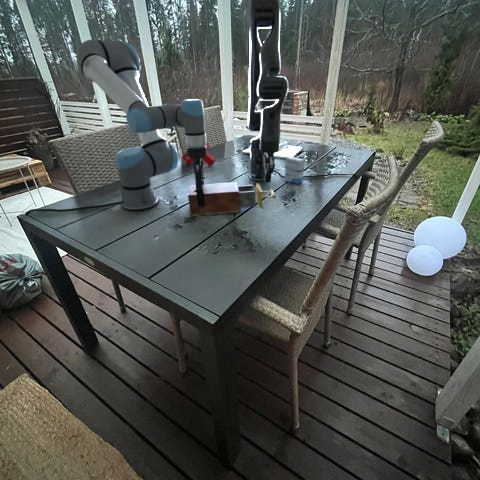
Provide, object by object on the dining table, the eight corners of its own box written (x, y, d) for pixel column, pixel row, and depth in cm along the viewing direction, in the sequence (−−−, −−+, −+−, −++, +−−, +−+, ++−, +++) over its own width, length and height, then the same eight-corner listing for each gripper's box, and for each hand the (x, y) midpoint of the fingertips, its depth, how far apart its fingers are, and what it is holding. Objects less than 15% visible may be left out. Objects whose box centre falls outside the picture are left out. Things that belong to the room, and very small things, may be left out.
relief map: (291, 159, 177) (291, 151, 174) (243, 153, 190) (243, 145, 187) (302, 149, 197) (303, 142, 194) (258, 144, 211) (258, 137, 208)
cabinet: (237, 201, 121) (236, 181, 116) (239, 212, 112) (239, 191, 107) (192, 205, 120) (189, 185, 115) (191, 216, 111) (187, 195, 106)
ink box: (302, 181, 142) (305, 159, 136) (297, 184, 139) (300, 161, 133) (289, 177, 147) (291, 156, 141) (284, 180, 144) (285, 158, 138)
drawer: (271, 197, 121) (272, 181, 117) (276, 206, 113) (276, 190, 109) (216, 201, 119) (214, 186, 115) (217, 211, 112) (215, 194, 108)
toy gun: (219, 159, 165) (203, 138, 161) (216, 161, 162) (200, 139, 158) (199, 174, 175) (184, 155, 171) (196, 176, 172) (181, 156, 168)
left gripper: (188, 139, 111) (193, 190, 123) (184, 154, 91) (191, 213, 103) (206, 138, 111) (210, 189, 123) (206, 153, 92) (211, 212, 104)
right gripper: (257, 134, 108) (256, 176, 117) (263, 142, 97) (261, 188, 106) (275, 134, 108) (273, 176, 118) (283, 141, 97) (280, 187, 107)
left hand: (201, 200), depth 113 cm, fingers closed on cabinet, 10 cm apart
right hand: (267, 181), depth 112 cm, fingers closed
